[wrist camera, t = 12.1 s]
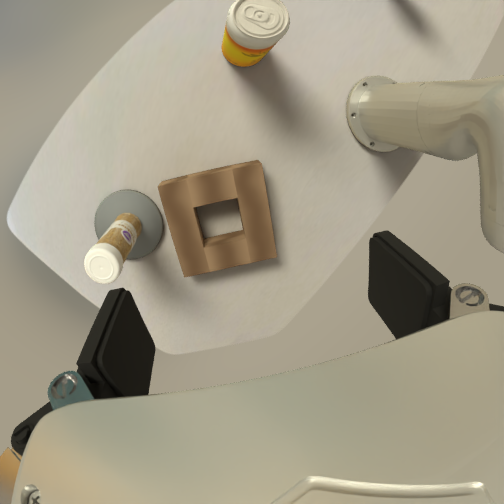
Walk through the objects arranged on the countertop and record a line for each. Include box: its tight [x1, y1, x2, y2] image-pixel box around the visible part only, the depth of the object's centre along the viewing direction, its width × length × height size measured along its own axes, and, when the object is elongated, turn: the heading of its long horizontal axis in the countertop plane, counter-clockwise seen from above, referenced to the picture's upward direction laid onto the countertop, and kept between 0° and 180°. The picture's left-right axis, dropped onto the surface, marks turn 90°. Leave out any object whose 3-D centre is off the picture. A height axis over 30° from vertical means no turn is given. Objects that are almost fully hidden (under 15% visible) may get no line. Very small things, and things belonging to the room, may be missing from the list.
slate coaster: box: [95, 190, 163, 259], centre depth 43 cm, size 11×11×1 cm
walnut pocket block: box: [158, 160, 277, 277], centre depth 43 cm, size 14×14×4 cm
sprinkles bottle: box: [84, 213, 142, 284], centre depth 36 cm, size 5×5×14 cm
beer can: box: [222, 0, 290, 67], centre depth 28 cm, size 6×6×15 cm
